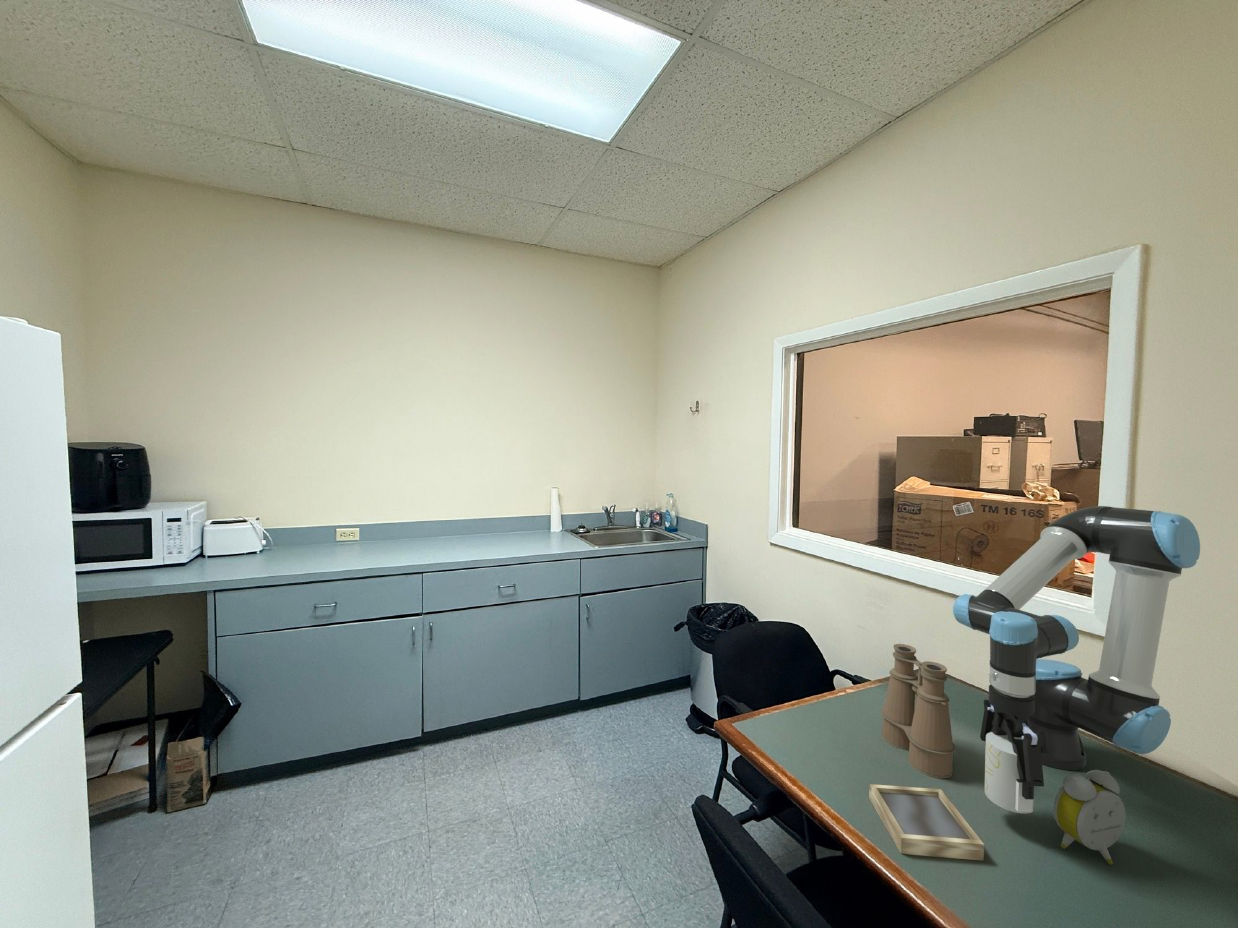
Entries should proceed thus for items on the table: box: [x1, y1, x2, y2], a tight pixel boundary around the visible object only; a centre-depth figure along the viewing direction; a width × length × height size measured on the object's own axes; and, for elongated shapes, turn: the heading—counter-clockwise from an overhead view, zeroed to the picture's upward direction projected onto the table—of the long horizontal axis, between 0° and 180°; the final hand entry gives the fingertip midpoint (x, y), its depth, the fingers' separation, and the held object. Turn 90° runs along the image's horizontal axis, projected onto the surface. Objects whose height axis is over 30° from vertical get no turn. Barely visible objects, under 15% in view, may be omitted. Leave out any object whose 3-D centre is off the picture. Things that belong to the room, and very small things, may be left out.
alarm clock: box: [1053, 769, 1127, 865], centre depth 97 cm, size 12×7×15 cm, turn 103°
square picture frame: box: [868, 783, 985, 862], centre depth 103 cm, size 15×15×3 cm
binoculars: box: [880, 643, 956, 779], centre depth 127 cm, size 21×10×25 cm, turn 6°
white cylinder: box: [984, 732, 1036, 814], centre depth 104 cm, size 8×8×12 cm
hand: (1008, 794), depth 104 cm, fingers closed on white cylinder, 8 cm apart
